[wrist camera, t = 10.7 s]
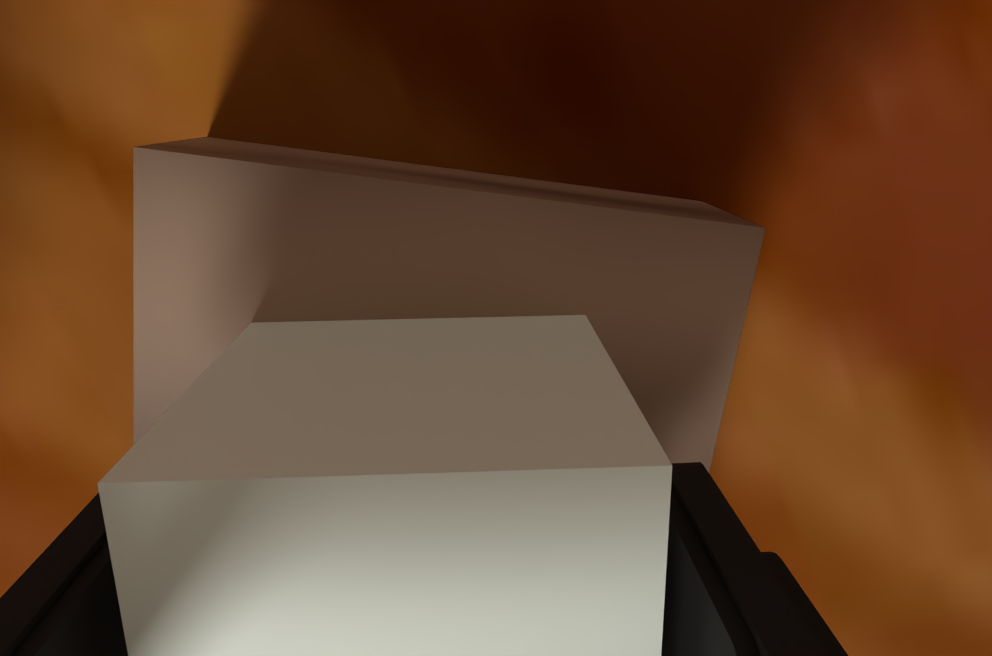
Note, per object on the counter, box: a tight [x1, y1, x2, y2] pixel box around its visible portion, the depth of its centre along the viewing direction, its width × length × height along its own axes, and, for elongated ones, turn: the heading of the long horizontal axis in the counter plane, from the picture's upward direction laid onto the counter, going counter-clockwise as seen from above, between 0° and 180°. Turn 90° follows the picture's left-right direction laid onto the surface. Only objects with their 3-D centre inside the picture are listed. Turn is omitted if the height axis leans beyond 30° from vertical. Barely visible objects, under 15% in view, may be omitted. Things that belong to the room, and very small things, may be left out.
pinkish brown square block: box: [133, 137, 765, 473], centre depth 15 cm, size 10×10×4 cm
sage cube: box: [97, 315, 672, 656], centre depth 11 cm, size 6×6×6 cm
